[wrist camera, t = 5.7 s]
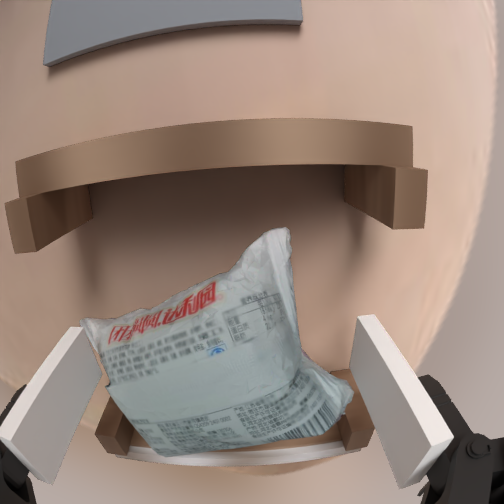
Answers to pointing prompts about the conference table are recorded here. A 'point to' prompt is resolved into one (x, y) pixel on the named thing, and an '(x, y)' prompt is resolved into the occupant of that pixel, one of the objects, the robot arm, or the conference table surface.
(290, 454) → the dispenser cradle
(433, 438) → the robot arm
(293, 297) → the packaged food
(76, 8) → the slate mat
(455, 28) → the conference table surface
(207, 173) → the conference table surface
